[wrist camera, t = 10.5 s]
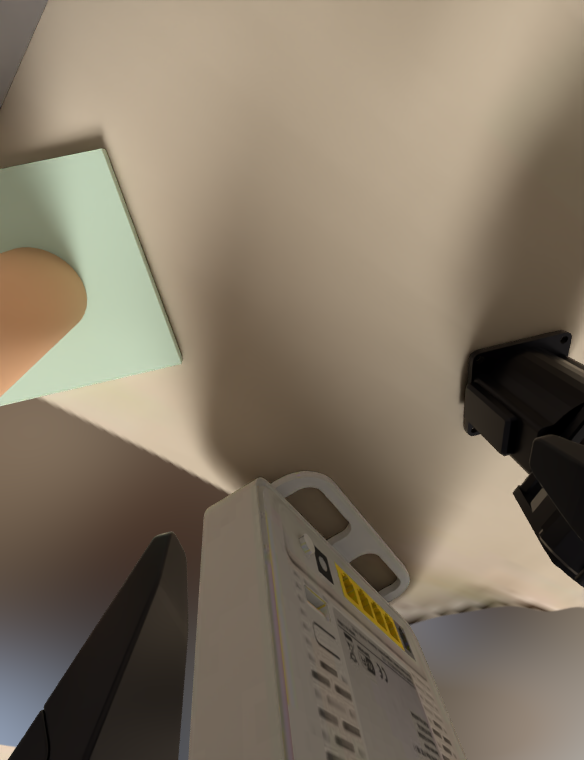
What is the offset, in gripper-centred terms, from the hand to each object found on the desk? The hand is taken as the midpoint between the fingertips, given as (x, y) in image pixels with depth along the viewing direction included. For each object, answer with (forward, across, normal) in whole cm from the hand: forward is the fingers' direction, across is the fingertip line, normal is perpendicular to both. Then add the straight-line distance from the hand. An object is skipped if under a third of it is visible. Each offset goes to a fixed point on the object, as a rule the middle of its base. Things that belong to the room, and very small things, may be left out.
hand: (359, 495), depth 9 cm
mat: (+13, +11, -4) cm, 18 cm away
